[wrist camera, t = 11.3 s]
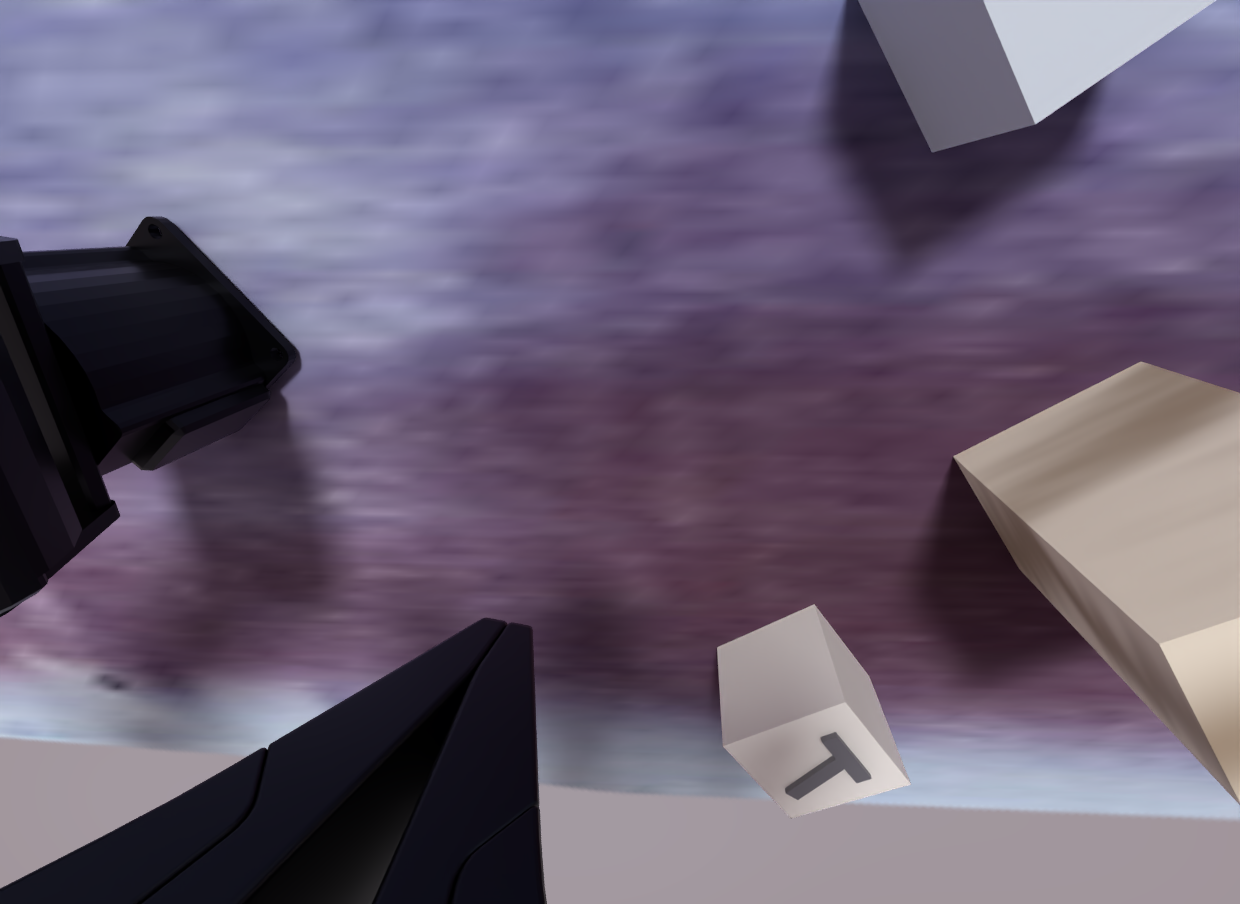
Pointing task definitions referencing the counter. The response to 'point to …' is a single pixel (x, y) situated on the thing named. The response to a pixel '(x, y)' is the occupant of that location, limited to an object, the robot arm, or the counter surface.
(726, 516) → the counter surface
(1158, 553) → the birch block
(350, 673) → the counter surface
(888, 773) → the white letter block
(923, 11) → the white letter cube
